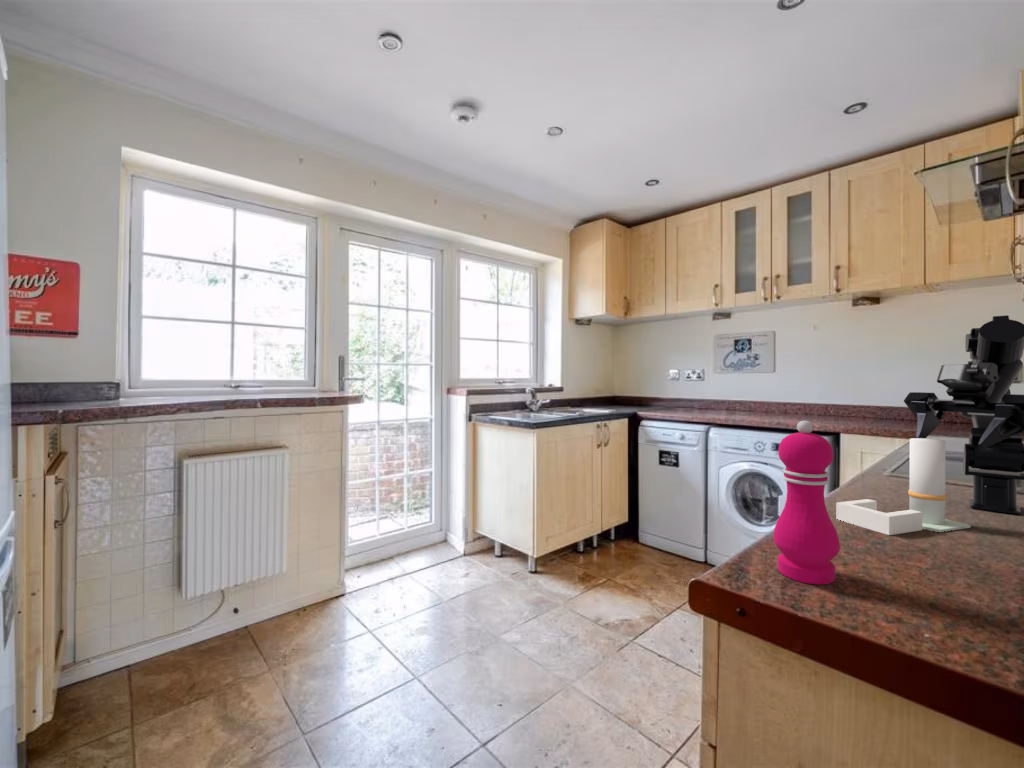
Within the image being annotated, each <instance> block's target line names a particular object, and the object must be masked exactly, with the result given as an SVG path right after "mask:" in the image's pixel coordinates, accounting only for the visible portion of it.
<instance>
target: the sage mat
mask: <svg viewBox="0 0 1024 768" xmlns="http://www.w3.org/2000/svg"><path fill="white" fill-rule="evenodd" d="M971 527H972V525H971V524H967V523H963V522H960V521H959V522H958V521H955V520H951V519H947V518H945V524H943V525H934V524H926V523H922V530H926V529H927V530H926V531H930V532H933V531H935V532H934V533H937V532H939V533H944V531H945V532H949V531H951V530H952V531H956V530H963V529H969V528H971Z"/></svg>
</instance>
